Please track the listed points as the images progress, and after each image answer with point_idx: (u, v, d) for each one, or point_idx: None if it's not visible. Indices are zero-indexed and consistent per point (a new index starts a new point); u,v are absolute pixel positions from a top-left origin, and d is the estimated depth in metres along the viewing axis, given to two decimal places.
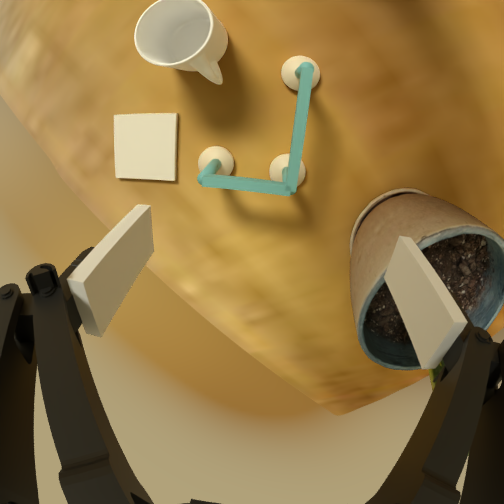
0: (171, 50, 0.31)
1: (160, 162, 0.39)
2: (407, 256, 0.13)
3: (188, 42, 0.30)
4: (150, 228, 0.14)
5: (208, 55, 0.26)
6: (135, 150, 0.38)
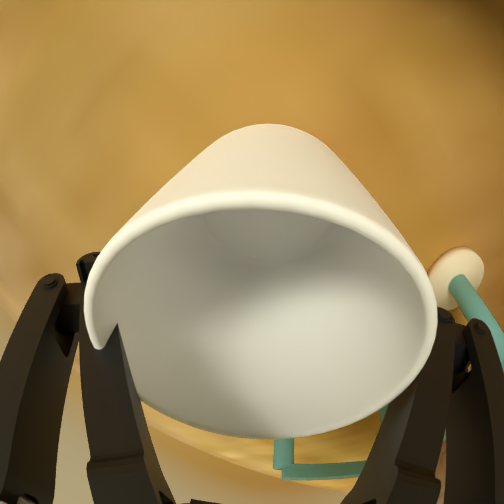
0: None
1: None
2: None
3: None
4: None
5: None
6: None
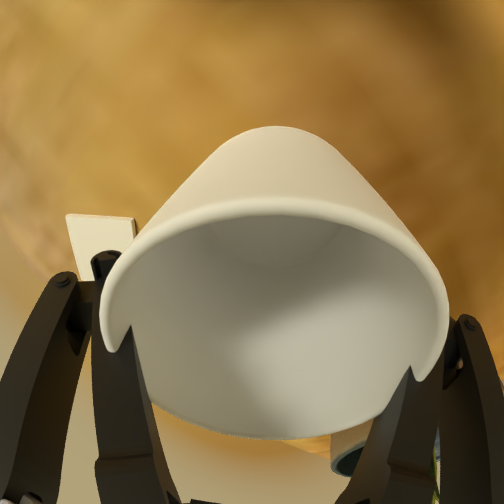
0: None
1: None
2: None
3: None
4: None
5: None
6: None
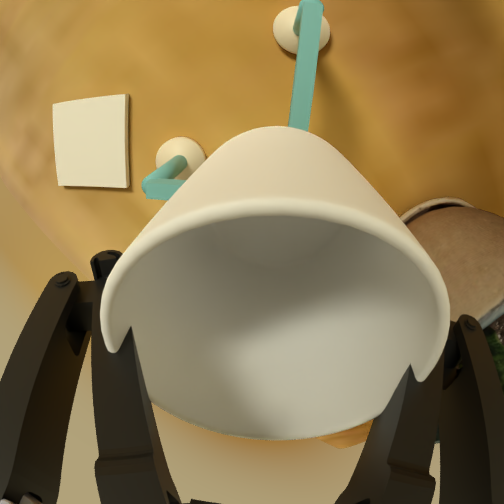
0: None
1: (108, 163, 0.27)
2: None
3: None
4: None
5: None
6: (77, 148, 0.26)
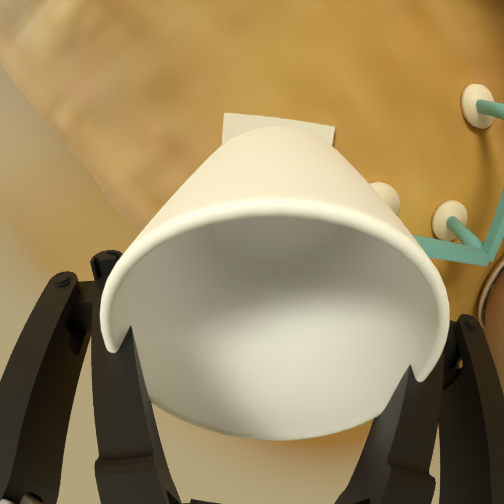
0: None
1: None
2: None
3: None
4: None
5: None
6: None
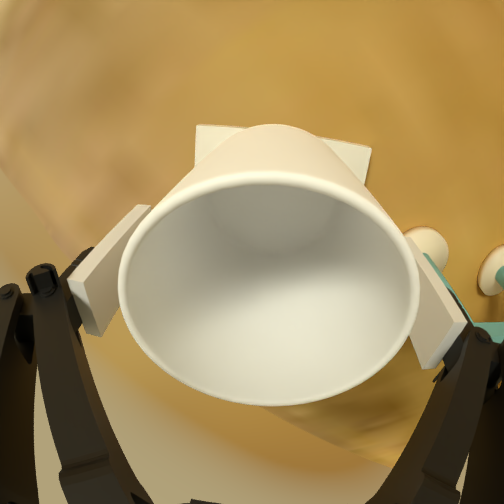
0: (211, 202, 0.17)
1: None
2: None
3: (253, 190, 0.16)
4: None
5: None
6: None
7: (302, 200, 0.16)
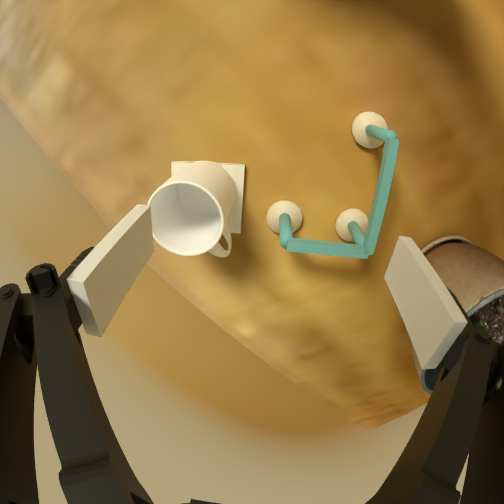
0: (179, 194, 0.39)
1: None
2: (407, 256, 0.13)
3: (195, 188, 0.39)
4: (150, 228, 0.14)
5: None
6: None
7: None
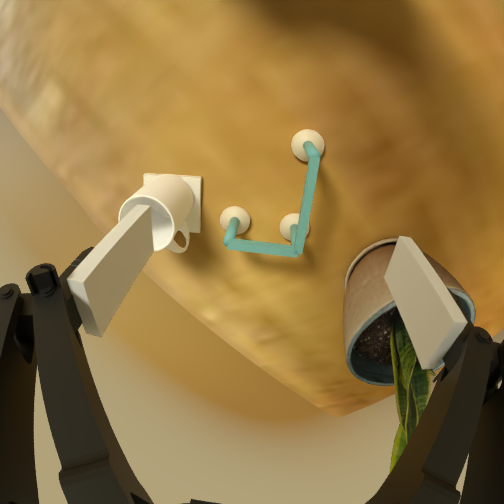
0: (149, 200, 0.47)
1: (187, 217, 0.49)
2: (406, 256, 0.13)
3: None
4: (150, 228, 0.14)
5: None
6: None
7: None
